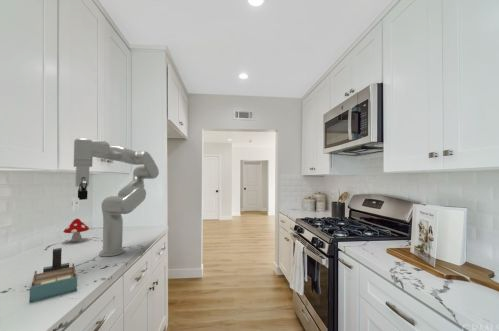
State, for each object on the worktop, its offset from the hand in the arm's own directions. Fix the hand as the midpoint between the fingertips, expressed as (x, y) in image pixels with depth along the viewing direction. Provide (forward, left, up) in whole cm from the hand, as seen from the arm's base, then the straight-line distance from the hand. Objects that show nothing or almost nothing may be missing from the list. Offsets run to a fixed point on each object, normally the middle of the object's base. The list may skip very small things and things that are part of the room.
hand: (82, 198), depth 113 cm
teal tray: (+25, -9, -32) cm, 42 cm away
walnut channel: (+14, -9, -32) cm, 36 cm away
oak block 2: (+23, -7, -30) cm, 38 cm away
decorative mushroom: (-52, +1, -32) cm, 61 cm away
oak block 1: (+23, -11, -30) cm, 39 cm away
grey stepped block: (+2, -9, -32) cm, 34 cm away
